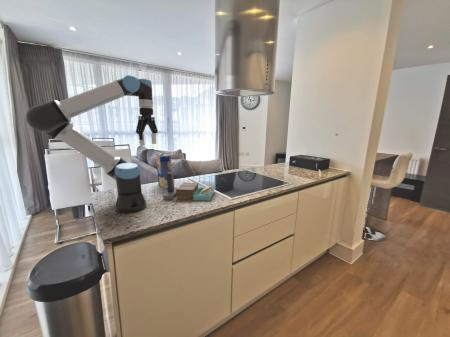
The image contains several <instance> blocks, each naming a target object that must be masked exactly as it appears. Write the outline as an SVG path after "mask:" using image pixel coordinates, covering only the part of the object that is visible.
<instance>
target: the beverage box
mask: <svg viewBox="0 0 450 337" xmlns="http://www.w3.org/2000/svg"><path fill="white" fill-rule="evenodd" d="M155 157H156V168H157V170H156V171H157V181H158V185H159V186H160V187H161V188H163V189H165V188H168V185H167V173H168V172H172V159H171V155H168V154H167V153H166V154H156V156H155Z"/></svg>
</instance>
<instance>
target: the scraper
mask: <svg viewBox="0 0 450 337" xmlns="http://www.w3.org/2000/svg"><path fill="white" fill-rule="evenodd" d="M174 183H175V182H174V172H168V173H167V185H168V187H167V191H166V192H165V193H164V194H163V195H162V199H163V200H170V201H171V200H174V199H175V198H177V196H176V189H177V188H178V187H175V184H174Z"/></svg>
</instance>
